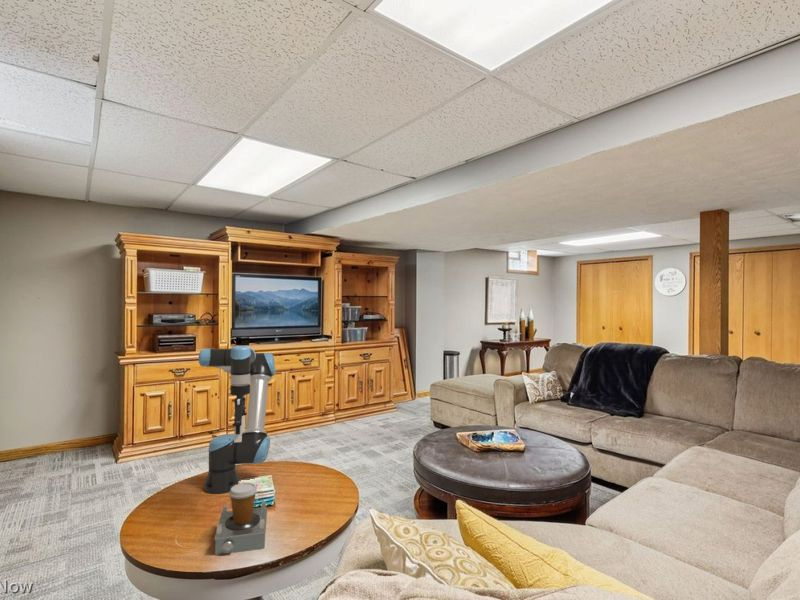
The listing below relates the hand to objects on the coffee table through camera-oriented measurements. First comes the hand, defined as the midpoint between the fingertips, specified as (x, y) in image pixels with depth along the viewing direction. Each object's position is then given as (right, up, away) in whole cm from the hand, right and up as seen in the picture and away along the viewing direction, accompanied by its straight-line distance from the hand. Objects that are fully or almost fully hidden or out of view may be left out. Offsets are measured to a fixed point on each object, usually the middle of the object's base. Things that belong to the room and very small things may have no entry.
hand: (239, 436), depth 173 cm
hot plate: (+7, -32, -17) cm, 37 cm away
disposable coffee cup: (+7, -26, -17) cm, 31 cm away
